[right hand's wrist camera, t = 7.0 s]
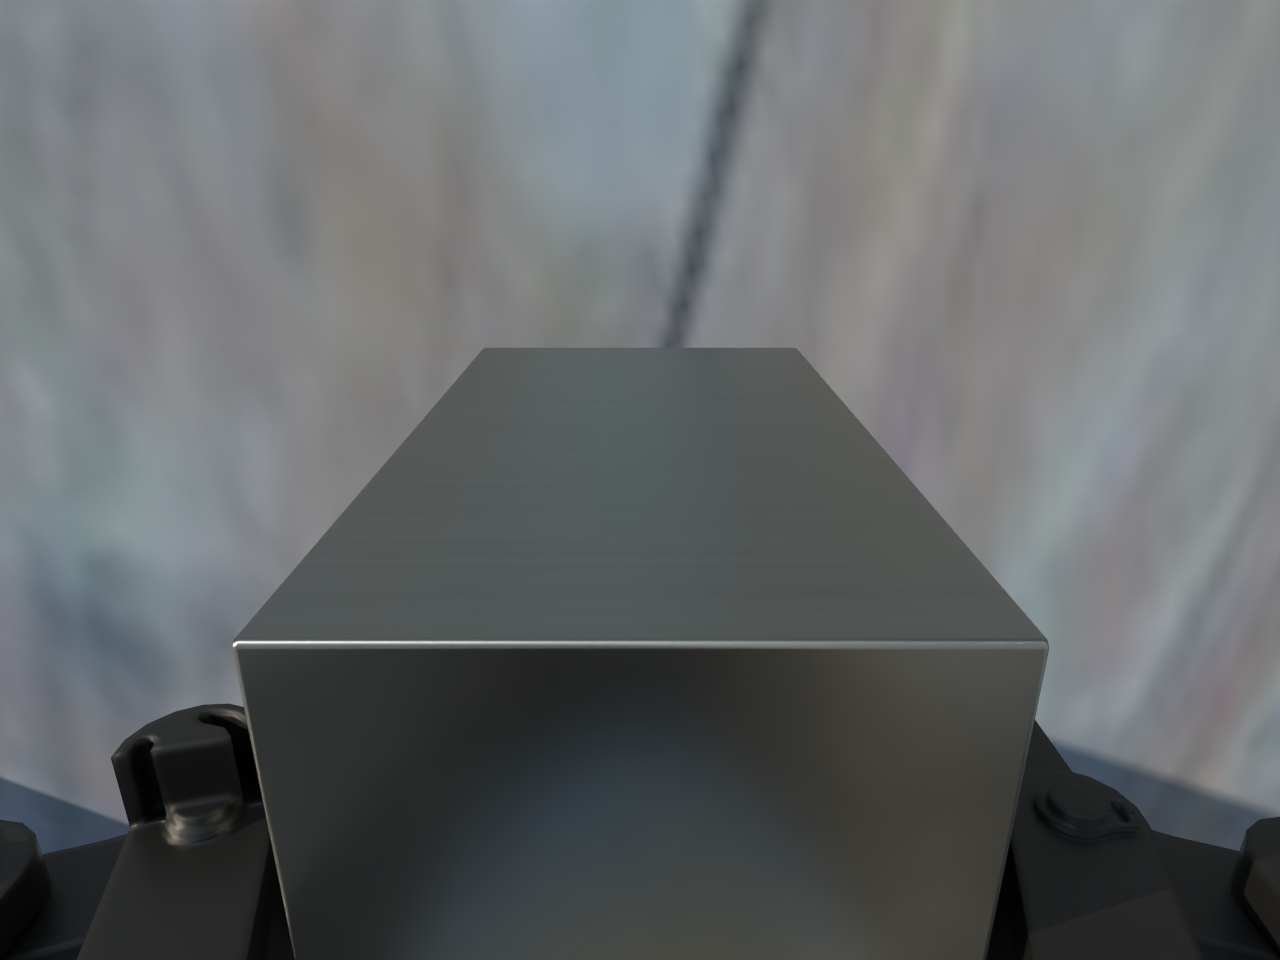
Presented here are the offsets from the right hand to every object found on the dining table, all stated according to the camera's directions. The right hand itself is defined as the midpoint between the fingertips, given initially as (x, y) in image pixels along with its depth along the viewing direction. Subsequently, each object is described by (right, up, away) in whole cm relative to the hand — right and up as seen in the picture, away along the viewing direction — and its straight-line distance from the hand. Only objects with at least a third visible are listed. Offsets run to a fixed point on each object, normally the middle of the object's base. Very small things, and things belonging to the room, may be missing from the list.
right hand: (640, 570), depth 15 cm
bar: (0, -8, +4) cm, 8 cm away
